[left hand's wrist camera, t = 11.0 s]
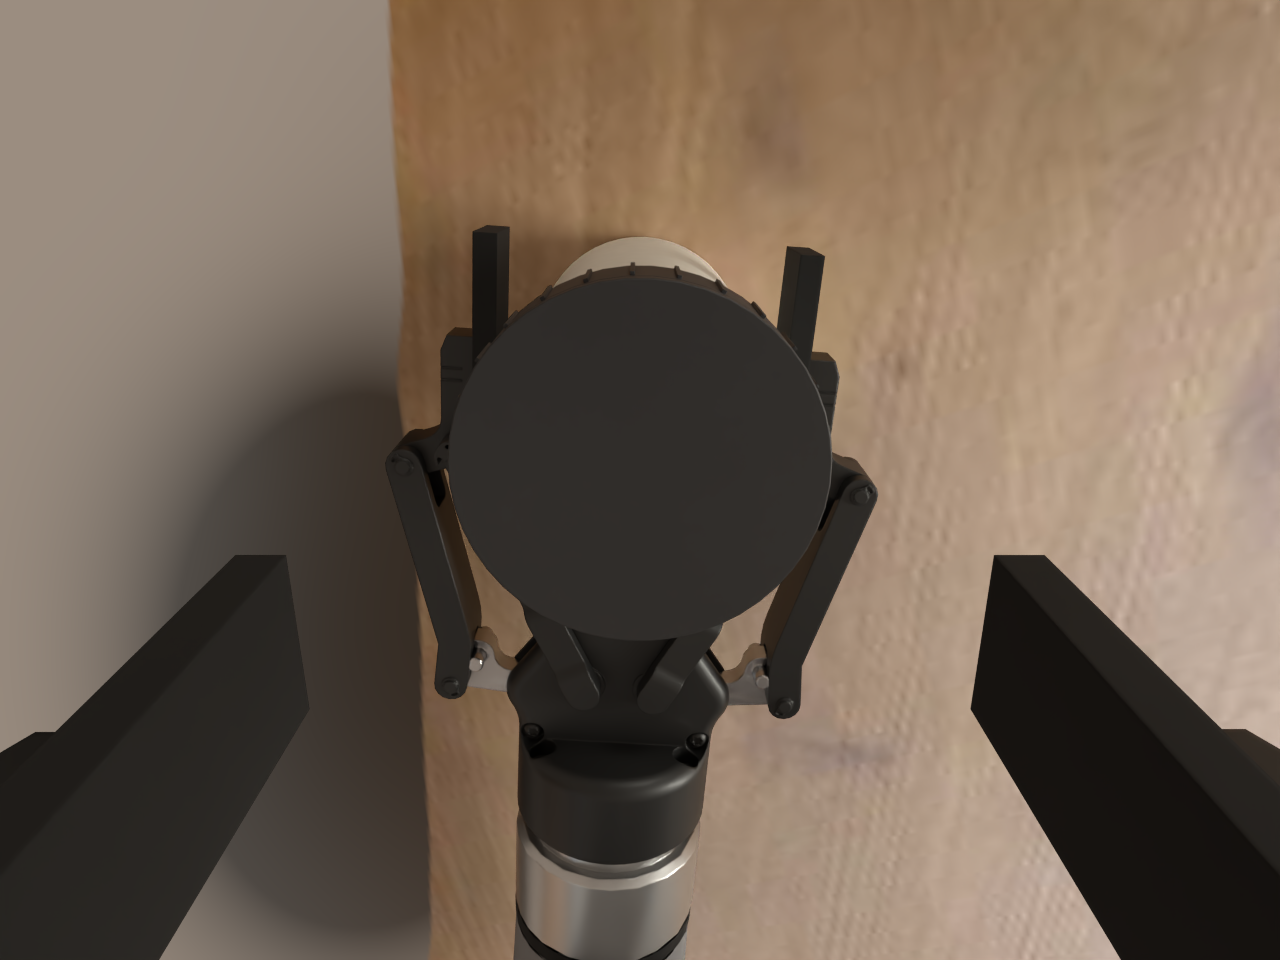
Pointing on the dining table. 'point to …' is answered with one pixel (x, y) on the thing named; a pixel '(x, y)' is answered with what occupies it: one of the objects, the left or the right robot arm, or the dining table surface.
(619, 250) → the jar
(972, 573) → the dining table surface
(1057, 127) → the dining table surface
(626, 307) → the lid
